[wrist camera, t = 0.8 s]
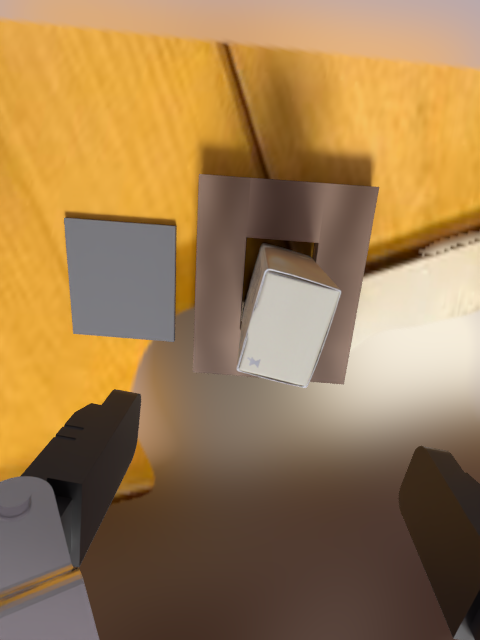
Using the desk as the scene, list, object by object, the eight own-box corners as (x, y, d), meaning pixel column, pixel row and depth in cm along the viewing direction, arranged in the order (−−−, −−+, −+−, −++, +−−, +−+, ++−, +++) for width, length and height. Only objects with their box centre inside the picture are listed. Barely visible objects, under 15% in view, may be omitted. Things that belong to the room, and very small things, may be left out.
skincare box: (289, 323, 33) (307, 395, 22) (241, 310, 33) (233, 376, 21) (313, 251, 31) (346, 289, 20) (261, 237, 31) (265, 267, 19)
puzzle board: (371, 187, 29) (379, 187, 27) (339, 373, 35) (343, 384, 33) (202, 174, 30) (199, 174, 28) (196, 361, 35) (192, 372, 33)
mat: (176, 225, 31) (175, 226, 30) (174, 339, 34) (173, 341, 34) (66, 217, 31) (63, 217, 31) (75, 332, 34) (73, 333, 34)
